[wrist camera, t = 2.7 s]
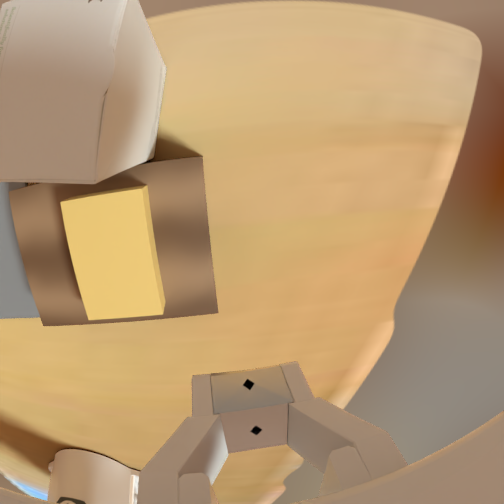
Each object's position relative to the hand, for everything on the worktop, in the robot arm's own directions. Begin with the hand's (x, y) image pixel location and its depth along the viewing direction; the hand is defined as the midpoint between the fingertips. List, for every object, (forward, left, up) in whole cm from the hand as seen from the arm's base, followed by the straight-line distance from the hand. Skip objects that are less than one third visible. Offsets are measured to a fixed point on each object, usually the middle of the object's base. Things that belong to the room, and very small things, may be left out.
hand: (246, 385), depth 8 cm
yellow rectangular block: (0, +8, -15) cm, 17 cm away
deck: (0, +9, -19) cm, 21 cm away
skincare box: (+10, +7, -19) cm, 23 cm away
